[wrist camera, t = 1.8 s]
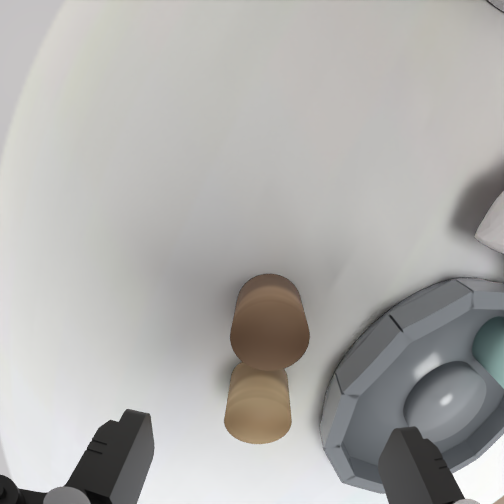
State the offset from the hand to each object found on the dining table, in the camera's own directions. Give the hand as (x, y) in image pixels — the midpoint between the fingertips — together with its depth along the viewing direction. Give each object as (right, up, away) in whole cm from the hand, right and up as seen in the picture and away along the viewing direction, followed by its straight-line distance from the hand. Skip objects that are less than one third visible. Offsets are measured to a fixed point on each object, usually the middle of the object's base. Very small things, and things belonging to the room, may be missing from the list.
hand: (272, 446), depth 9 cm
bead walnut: (0, +3, +11) cm, 12 cm away
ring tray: (+15, -5, +13) cm, 20 cm away
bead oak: (0, -3, +13) cm, 13 cm away
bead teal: (+18, -1, +11) cm, 21 cm away
